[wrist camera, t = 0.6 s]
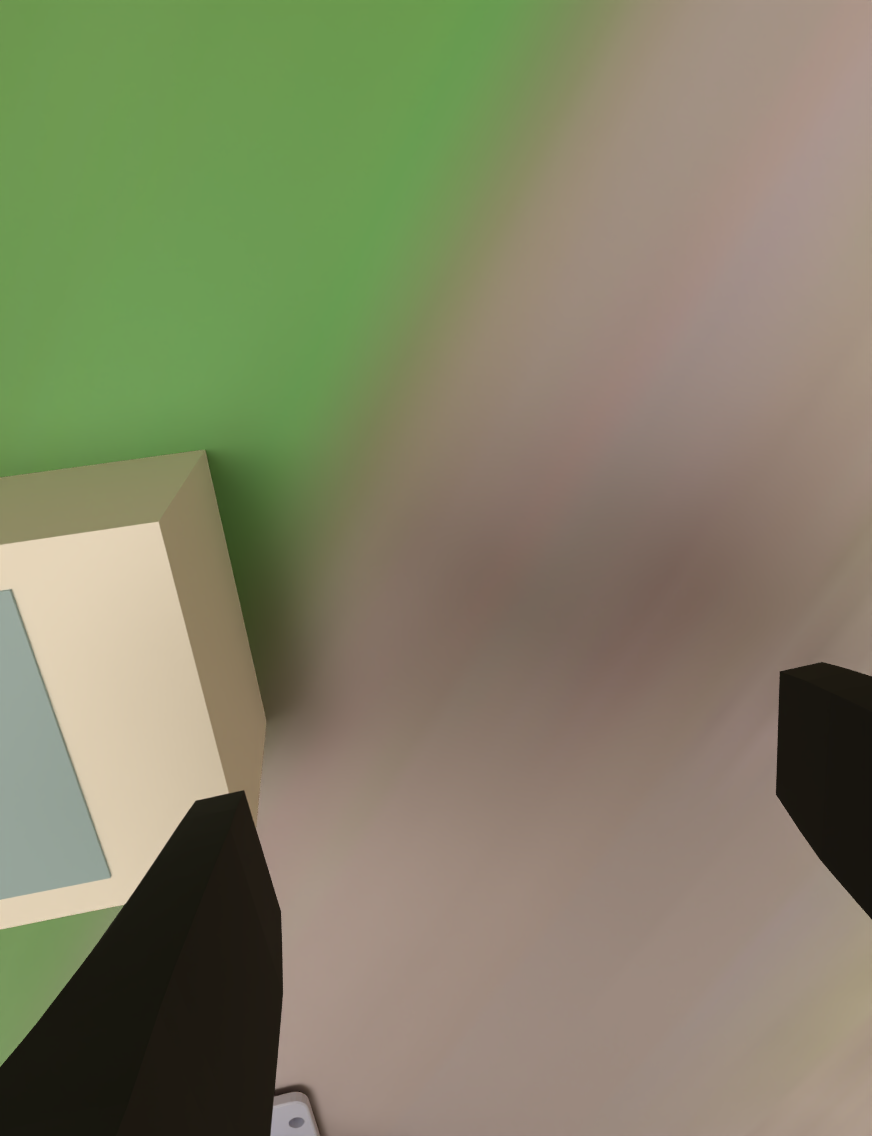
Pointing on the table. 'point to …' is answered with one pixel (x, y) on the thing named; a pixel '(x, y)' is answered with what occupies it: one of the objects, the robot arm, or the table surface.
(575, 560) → the table surface
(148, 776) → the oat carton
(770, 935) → the table surface
